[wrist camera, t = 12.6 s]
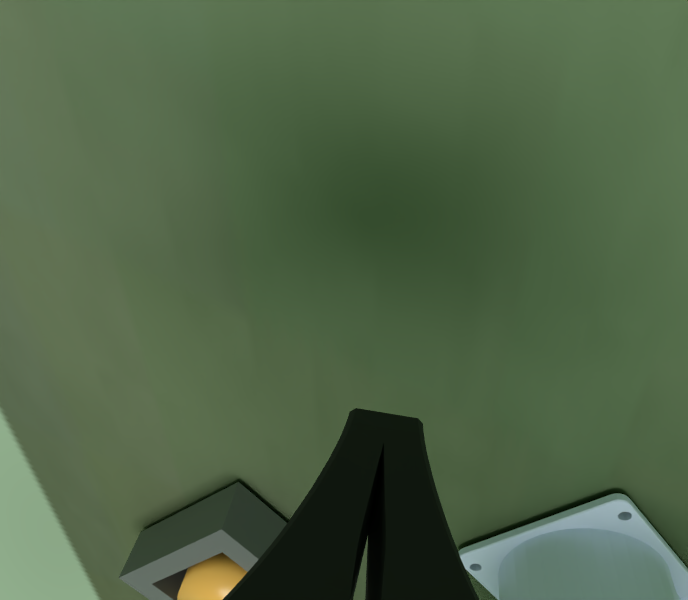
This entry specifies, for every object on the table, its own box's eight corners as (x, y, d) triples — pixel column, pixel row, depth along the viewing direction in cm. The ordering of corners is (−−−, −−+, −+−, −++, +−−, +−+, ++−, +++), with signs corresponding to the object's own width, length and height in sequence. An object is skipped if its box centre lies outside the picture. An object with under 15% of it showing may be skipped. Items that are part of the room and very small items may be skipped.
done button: (292, 574, 30) (282, 619, 29) (235, 597, 32) (222, 641, 30) (233, 526, 29) (219, 570, 27) (177, 553, 31) (159, 595, 29)
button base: (339, 568, 31) (331, 617, 29) (239, 606, 34) (225, 653, 32) (238, 481, 28) (221, 529, 26) (140, 531, 32) (118, 577, 29)
